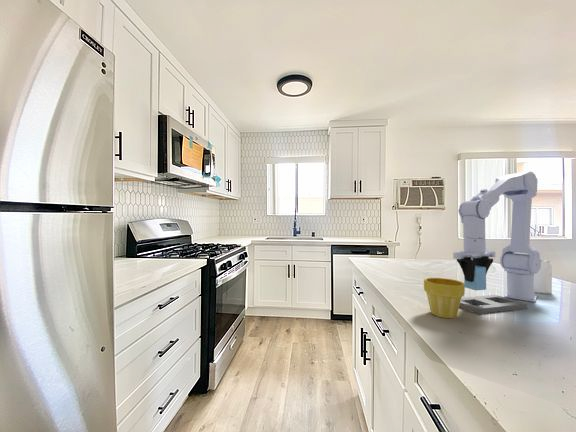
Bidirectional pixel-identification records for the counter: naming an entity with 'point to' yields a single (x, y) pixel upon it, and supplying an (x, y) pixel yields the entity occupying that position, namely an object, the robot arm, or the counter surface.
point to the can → (543, 278)
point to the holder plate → (490, 304)
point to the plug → (477, 279)
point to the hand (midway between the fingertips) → (474, 280)
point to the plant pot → (444, 296)
